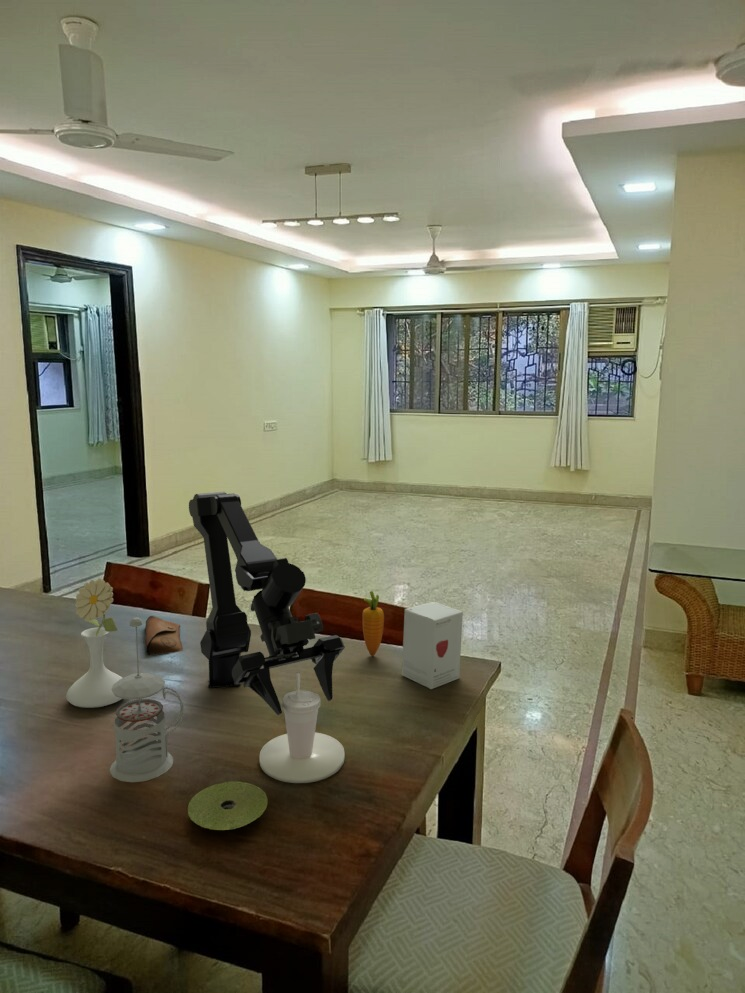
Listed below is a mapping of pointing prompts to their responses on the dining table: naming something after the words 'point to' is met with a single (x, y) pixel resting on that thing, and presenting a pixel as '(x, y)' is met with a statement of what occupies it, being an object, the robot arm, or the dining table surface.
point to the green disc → (227, 805)
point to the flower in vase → (95, 648)
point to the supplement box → (432, 644)
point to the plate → (302, 760)
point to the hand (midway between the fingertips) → (305, 707)
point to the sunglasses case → (162, 636)
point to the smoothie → (300, 720)
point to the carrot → (372, 624)
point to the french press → (141, 726)
